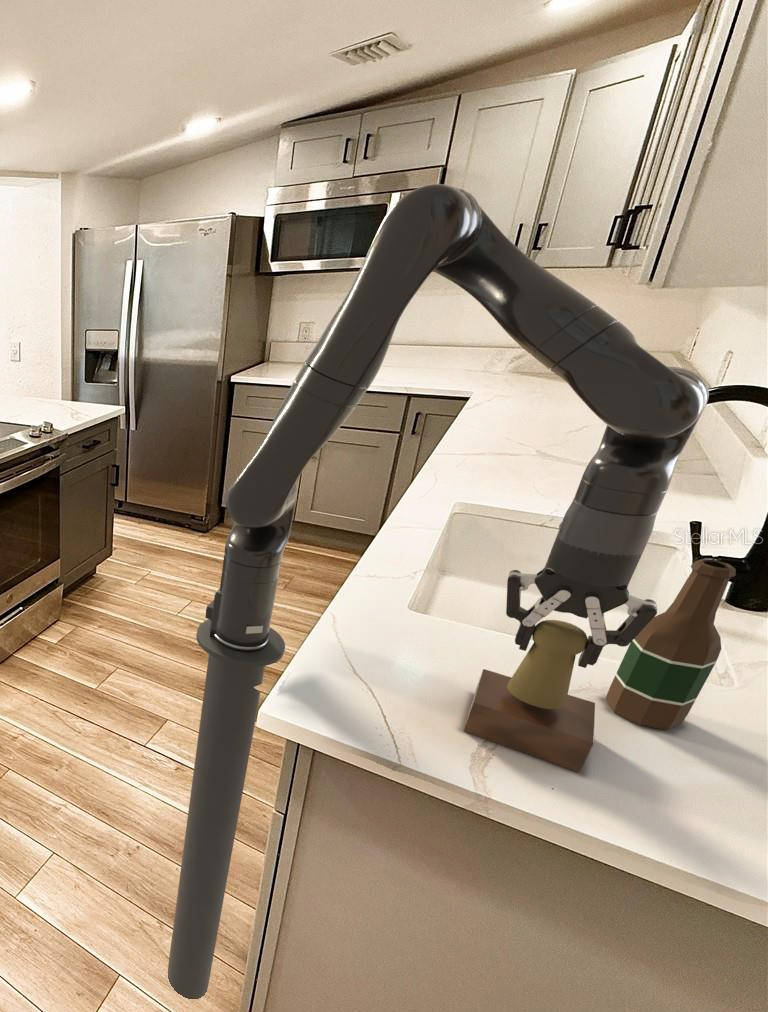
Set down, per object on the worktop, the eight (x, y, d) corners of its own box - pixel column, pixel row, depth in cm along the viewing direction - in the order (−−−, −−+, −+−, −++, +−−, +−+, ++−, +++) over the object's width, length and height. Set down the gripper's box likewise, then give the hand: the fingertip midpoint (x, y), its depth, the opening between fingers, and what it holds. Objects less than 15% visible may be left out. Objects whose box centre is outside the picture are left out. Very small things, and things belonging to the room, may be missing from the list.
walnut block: (463, 731, 86) (473, 702, 84) (473, 695, 93) (483, 668, 91) (579, 773, 78) (593, 743, 76) (581, 731, 85) (595, 702, 83)
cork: (496, 688, 85) (522, 620, 80) (523, 675, 87) (549, 609, 82) (549, 714, 79) (579, 644, 75) (575, 700, 82) (607, 631, 77)
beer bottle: (679, 740, 83) (764, 584, 73) (600, 712, 88) (669, 564, 78) (683, 712, 87) (763, 562, 77) (607, 688, 93) (673, 545, 83)
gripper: (519, 534, 76) (479, 648, 83) (691, 567, 66) (629, 692, 73) (524, 516, 80) (486, 625, 87) (685, 544, 71) (628, 663, 78)
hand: (552, 655), depth 80 cm, fingers closed on cork, 5 cm apart
